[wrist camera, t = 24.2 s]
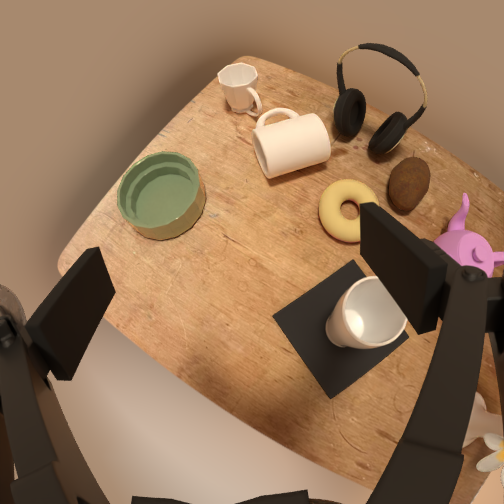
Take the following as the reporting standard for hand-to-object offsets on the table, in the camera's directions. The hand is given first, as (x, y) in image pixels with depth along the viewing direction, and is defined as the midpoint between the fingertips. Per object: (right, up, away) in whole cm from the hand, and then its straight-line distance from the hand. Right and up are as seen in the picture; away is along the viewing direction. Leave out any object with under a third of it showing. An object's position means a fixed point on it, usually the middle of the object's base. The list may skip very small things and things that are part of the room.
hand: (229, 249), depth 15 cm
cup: (0, +26, +41) cm, 48 cm away
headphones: (+21, +20, +37) cm, 47 cm away
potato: (+26, +10, +33) cm, 43 cm away
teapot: (+32, -3, +28) cm, 43 cm away
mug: (+7, +17, +37) cm, 41 cm away
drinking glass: (+13, -10, +27) cm, 32 cm away
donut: (+16, +5, +32) cm, 36 cm away
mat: (+13, -10, +27) cm, 32 cm away
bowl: (-13, +8, +35) cm, 38 cm away
